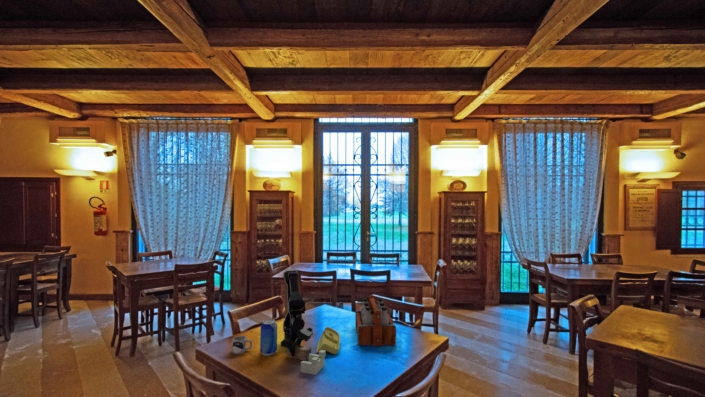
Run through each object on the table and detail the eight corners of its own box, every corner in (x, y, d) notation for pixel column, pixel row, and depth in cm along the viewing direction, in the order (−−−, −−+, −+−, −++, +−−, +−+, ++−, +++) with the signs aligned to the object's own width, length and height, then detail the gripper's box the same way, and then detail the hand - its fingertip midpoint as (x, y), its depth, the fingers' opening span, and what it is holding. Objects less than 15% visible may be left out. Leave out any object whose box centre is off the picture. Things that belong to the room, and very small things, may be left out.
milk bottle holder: (358, 348, 172) (358, 312, 173) (355, 324, 207) (355, 294, 208) (397, 347, 173) (397, 311, 174) (387, 324, 208) (387, 294, 209)
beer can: (280, 350, 168) (280, 319, 168) (270, 357, 160) (271, 325, 160) (266, 348, 171) (266, 317, 171) (256, 355, 163) (257, 323, 163)
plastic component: (339, 350, 164) (321, 342, 163) (332, 363, 164) (315, 354, 164) (340, 332, 183) (324, 325, 183) (334, 344, 184) (319, 336, 183)
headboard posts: (300, 372, 146) (300, 357, 146) (310, 362, 155) (310, 347, 156) (316, 375, 143) (316, 360, 143) (325, 365, 153) (325, 350, 153)
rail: (286, 357, 161) (286, 346, 161) (290, 353, 164) (290, 343, 165) (307, 360, 157) (307, 350, 157) (311, 357, 161) (311, 347, 161)
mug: (230, 354, 163) (230, 341, 164) (234, 348, 170) (234, 335, 170) (250, 353, 164) (250, 340, 164) (253, 348, 171) (253, 335, 171)
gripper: (301, 332, 150) (300, 365, 150) (318, 319, 168) (317, 349, 167) (280, 328, 154) (279, 361, 153) (299, 316, 172) (298, 346, 171)
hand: (295, 354), depth 161 cm, fingers closed on rail, 4 cm apart
